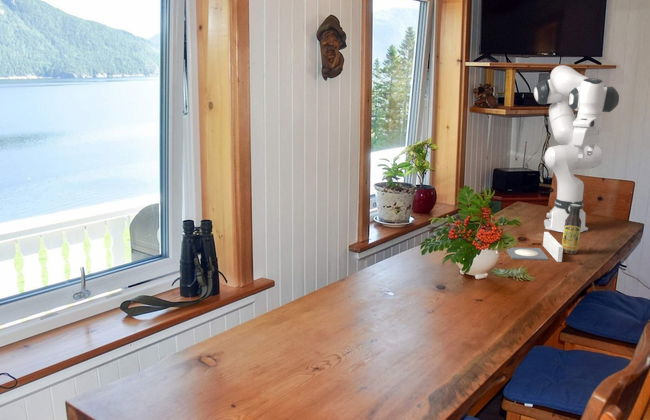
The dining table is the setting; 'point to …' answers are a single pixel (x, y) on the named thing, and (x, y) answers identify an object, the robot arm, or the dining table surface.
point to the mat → (527, 253)
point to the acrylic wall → (552, 246)
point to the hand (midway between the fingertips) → (585, 156)
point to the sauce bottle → (572, 230)
